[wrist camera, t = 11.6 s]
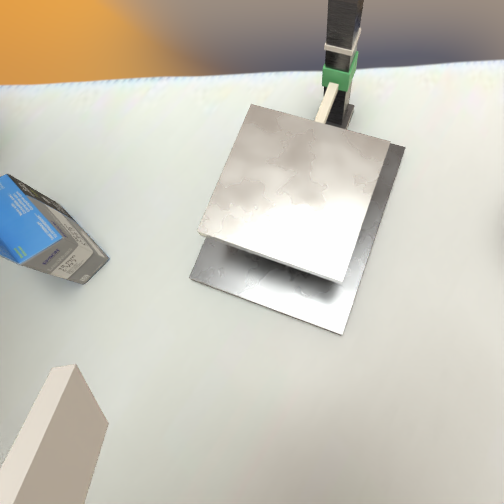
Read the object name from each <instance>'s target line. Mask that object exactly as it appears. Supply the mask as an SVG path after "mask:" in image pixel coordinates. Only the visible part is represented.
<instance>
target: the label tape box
mask: <svg viewBox="0 0 504 504" xmlns="http://www.w3.org/2000/svg"><path fill="white" fill-rule="evenodd" d="M0 256H1V257H3V258H5V259H7V260H10V261H12V262H14V263H16V264H19V265H22V266H26V267H29V268H32V269H35V270H38V271H41V272H44V273H47V274H51V275H54V276H57V277H60V278H63V279H67V280H70V281H74V282H77V283H80V284H85V283H86V282H87V281H88V280H89V279H90V278H91V277H92V276H93V275H94V274H95V273H96V272H97V271H98V270H99V269H100V268H101V267H102V266H103V265H104V264H105V263H106V262H107V261H108V260H109V257H108V256H107V255H106V254H105V253H104V252H103V251H102V250H101V249H100V248H99V246H98V245H97V244H96V243H95V242H94V241H93V240H92V239H91V238H90V237H89V236H88V235H87V233H86V232H85V231H84V230H83V229H82V228H81V227H80V226H79V225H78V224H77V223H76V222H75V220H74V219H73V218H72V217H71V216H70V215H69V214H68V213H67V212H66V211H65V210H64V209H63V208H62V207H61V205H60V204H58V203H56V202H55V201H53V200H51V199H49V198H48V197H46V196H44V195H43V194H41V193H40V192H38V191H36V190H34V189H33V188H31V187H30V186H28V185H26V184H24V183H23V182H21V181H19V180H18V179H16V178H14V177H13V176H11V175H9V174H5V175H3V176H1V177H0Z"/></svg>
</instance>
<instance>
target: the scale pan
mask: <svg viewBox="0 0 504 504" xmlns="http://www.w3.org/2000/svg"><path fill="white" fill-rule="evenodd" d="M338 86H339V84H335V83H331V82H329V85H328V87H327V90H326V92H325V95H324V97H323V100H322V103H321V105H320V108H319V110H318V113H317V115H316V118H315V121H312V120H309V119H305V118H301V117H298V116H294V115H290V114H286V113H283V112H279V111H275V110H272V109H268V108H264V107H260V106H257V105H253V104H251V106H250V108H249V110H248V113H247V115H246V117H245V120H244V122H243V124H242V127H241V129H240V131H239V134H238V136H237V138H236V141H235V143H234V145H233V148H232V150H231V152H230V155H229V157H228V159H227V162H226V164H225V166H224V169H223V171H222V173H221V176H220V178H219V180H218V183H217V185H216V187H215V190H214V192H213V194H212V197H211V199H210V201H209V204H208V206H207V208H206V211H205V213H204V215H203V218H202V220H201V222H200V225H199V227H198V229H197V232H198V233H199V234H200V235H201V236H204V237H206V238H209V239H212V240H215V241H218V242H221V243H224V244H227V245H230V246H232V247H235V248H238V249H241V250H244V251H247V252H250V253H253V254H255V255H258V256H261V257H264V258H267V259H270V260H273V261H276V262H278V263H281V264H284V265H287V266H290V267H293V268H296V269H299V270H301V271H304V272H307V273H310V274H313V275H316V276H319V277H322V278H325V279H327V280H330V281H333V282H336V283H339V284H342V281H343V278H344V275H345V272H346V269H347V266H348V264H349V261H350V258H351V255H352V252H353V249H354V246H355V243H356V240H357V238H358V235H359V232H360V229H361V226H362V223H363V220H364V217H365V214H366V212H367V209H368V206H369V203H370V200H371V197H372V194H373V191H374V188H375V186H376V183H377V180H378V177H379V174H380V171H381V168H382V165H383V162H384V159H385V157H386V154H387V151H388V148H389V145H390V141H387V140H383V139H379V138H375V137H372V136H368V135H364V134H361V133H357V132H353V131H350V130H346V129H342V128H338V127H335V126H331V125H327V124H325V123H326V120H327V118H328V115H329V112H330V110H331V107H332V105H333V102H334V99H335V97H336V94H337V92H338Z"/></svg>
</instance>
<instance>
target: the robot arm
mask: <svg viewBox="0 0 504 504" xmlns="http://www.w3.org/2000/svg"><path fill="white" fill-rule="evenodd" d="M108 424H109V423H108V422H107V420H106V418H105V416H104V414H103V412H102V411H101V409H100V407H99V405H98V403H97V401H96V400H95V398H94V396H93V394H92V392H91V390H90V389H89V387H88V385H87V383H86V381H85V379H84V378H83V376H82V374H81V372H80V370H79V368H78V367H77V365H76V364H72V365H66V366H60V367H55V368H52V369H51V371H50V373H49V375H48V377H47V379H46V381H45V383H44V385H43V387H42V388H41V390H40V392H39V394H38V396H37V398H36V400H35V402H34V404H33V406H32V408H31V410H30V412H29V414H28V416H27V418H26V420H25V422H24V424H23V426H22V428H21V430H20V432H19V434H18V436H17V437H16V439H15V441H14V443H13V445H12V447H11V449H10V451H9V453H8V455H7V457H6V459H5V461H4V463H3V465H2V467H1V469H0V504H84V502H85V499H86V496H87V493H88V489H89V486H90V483H91V480H92V476H93V473H94V470H95V467H96V463H97V460H98V457H99V454H100V450H101V447H102V444H103V440H104V437H105V434H106V431H107V427H108Z"/></svg>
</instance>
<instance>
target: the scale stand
mask: <svg viewBox="0 0 504 504" xmlns="http://www.w3.org/2000/svg"><path fill="white" fill-rule="evenodd" d="M363 2H364V0H328V19H327V39H326V43H325V46H324V49H325V50H326V59H325V64H324V66H323V75H322V86H324V95H325V92H326V90H327V87H328V85H329V82H331V83H335V84H339V86H338V92H337V94H336V97H335V99H334V102H333V105H332V107H331V110H330V112H329V115H328V118H327V120H326V123H325V124H327V125H331V126H335V127H338V128H342V129H346V130H347V127H348V125H349V122H350V119H351V116H352V114H353V111H354V105H351V104H349V98H350V92H351V85H352V78H353V76H354V73H355V71H356V64H357V58H358V52H357V51H356V50H357V42H358V38H359V36H360V33H361V28H360V22H361V16H362V9H363ZM404 150H405V147H402V146H399V145H395V144H391V143H390V145H389V148H388V151H387V154H386V157H385V159H384V162H383V165H382V168H381V171H380V174H379V177H378V180H377V183H376V186H375V188H374V191H373V194H372V197H371V200H370V203H369V206H368V209H367V212H366V214H365V217H364V220H363V223H362V226H361V229H360V232H359V235H358V238H357V240H356V243H355V246H354V249H353V252H352V255H351V258H350V261H349V264H348V266H347V269H346V272H345V275H344V278H343V281H342V284H339V283H336V282H333V281H330V280H327V279H325V278H322V277H319V276H316V275H313V274H310V273H307V272H304V271H301V270H299V269H296V268H293V267H290V266H287V265H284V264H281V263H278V262H276V261H273V260H270V259H267V258H264V257H261V256H258V255H255V254H253V253H250V252H247V251H244V250H241V249H238V248H235V247H232V246H230V245H227V244H224V243H221V242H218V241H215V240H212V239H209V238H206V239H205V241H204V244H203V246H202V248H201V251H200V253H199V255H198V258H197V260H196V263H195V265H194V267H193V270H192V272H191V274H190V277H189V278H190V279H192V280H194V281H197V282H199V283H202V284H205V285H207V286H210V287H213V288H215V289H218V290H221V291H223V292H226V293H229V294H231V295H234V296H237V297H240V298H242V299H245V300H248V301H250V302H253V303H256V304H258V305H261V306H264V307H266V308H269V309H272V310H274V311H277V312H280V313H282V314H285V315H288V316H290V317H293V318H296V319H299V320H301V321H304V322H307V323H309V324H312V325H315V326H317V327H320V328H323V329H325V330H328V331H331V332H333V333H336V334H339V335H342V334H343V331H344V328H345V325H346V322H347V319H348V316H349V313H350V310H351V307H352V304H353V301H354V298H355V295H356V292H357V289H358V286H359V283H360V280H361V277H362V274H363V271H364V268H365V265H366V263H367V260H368V257H369V254H370V251H371V248H372V245H373V242H374V239H375V236H376V233H377V230H378V227H379V224H380V221H381V218H382V215H383V212H384V209H385V206H386V203H387V200H388V197H389V194H390V191H391V188H392V185H393V182H394V179H395V176H396V174H397V171H398V168H399V165H400V162H401V159H402V156H403V153H404Z"/></svg>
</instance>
